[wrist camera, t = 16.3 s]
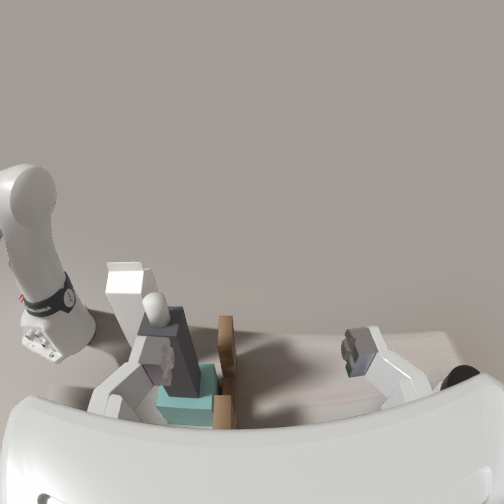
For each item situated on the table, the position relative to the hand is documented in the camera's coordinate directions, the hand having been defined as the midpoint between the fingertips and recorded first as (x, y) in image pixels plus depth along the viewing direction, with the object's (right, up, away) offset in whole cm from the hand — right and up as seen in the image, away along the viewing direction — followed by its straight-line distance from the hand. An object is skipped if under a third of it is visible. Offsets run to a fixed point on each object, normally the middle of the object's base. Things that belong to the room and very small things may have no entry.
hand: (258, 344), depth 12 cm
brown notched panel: (-4, -21, +27) cm, 34 cm away
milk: (-18, -16, +35) cm, 43 cm away
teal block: (-10, -21, +27) cm, 36 cm away
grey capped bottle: (-10, -15, +23) cm, 29 cm away
